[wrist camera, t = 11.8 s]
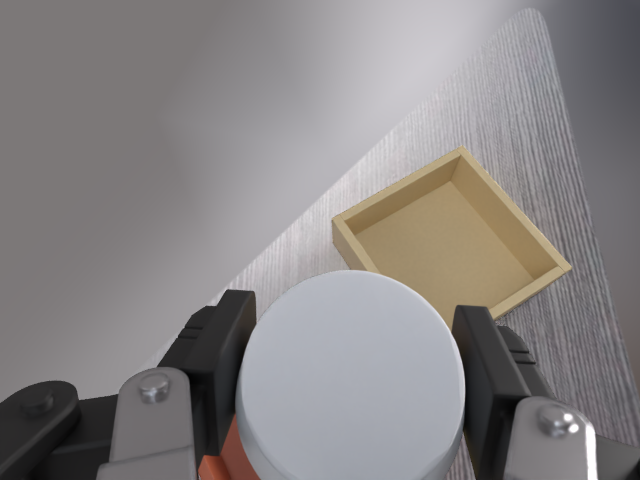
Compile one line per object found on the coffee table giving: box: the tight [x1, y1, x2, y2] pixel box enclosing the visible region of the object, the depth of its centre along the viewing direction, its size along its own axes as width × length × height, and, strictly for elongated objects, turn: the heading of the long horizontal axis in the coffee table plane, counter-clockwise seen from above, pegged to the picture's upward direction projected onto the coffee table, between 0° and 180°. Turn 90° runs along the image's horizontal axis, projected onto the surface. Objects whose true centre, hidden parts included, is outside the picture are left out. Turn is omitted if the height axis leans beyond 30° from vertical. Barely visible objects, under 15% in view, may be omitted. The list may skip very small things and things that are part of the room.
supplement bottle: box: [235, 270, 465, 480], centre depth 12 cm, size 5×5×10 cm
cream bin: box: [332, 145, 572, 332], centre depth 35 cm, size 12×12×5 cm
